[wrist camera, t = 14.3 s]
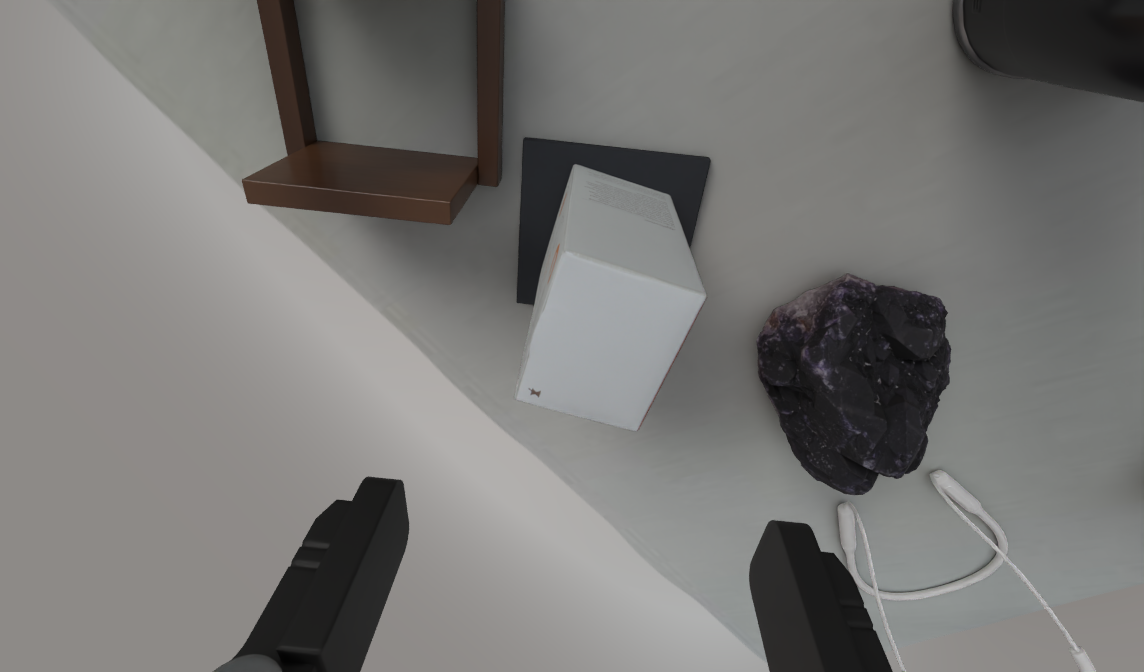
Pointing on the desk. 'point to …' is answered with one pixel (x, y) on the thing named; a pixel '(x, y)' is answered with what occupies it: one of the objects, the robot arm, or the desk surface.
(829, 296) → the crystal cluster
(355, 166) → the rack
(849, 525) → the earphone
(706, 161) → the mat
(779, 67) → the desk surface
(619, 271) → the small box
